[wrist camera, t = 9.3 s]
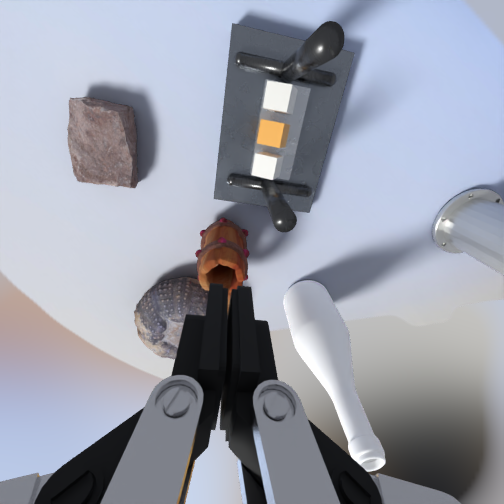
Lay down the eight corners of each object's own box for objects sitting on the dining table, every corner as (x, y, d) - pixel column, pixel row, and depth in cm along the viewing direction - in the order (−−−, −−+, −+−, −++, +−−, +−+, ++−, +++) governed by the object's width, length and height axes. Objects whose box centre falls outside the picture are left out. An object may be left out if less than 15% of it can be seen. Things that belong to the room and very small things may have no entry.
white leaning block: (283, 155, 36) (277, 158, 33) (279, 176, 38) (272, 180, 34) (263, 151, 37) (255, 153, 34) (259, 171, 38) (251, 175, 35)
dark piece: (347, 56, 36) (442, 8, 20) (305, 208, 46) (346, 259, 30) (232, 29, 34) (232, -51, 17) (214, 194, 44) (204, 242, 27)
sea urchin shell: (122, 282, 50) (110, 314, 41) (218, 257, 53) (225, 282, 44) (155, 351, 58) (150, 390, 50) (236, 326, 61) (245, 359, 52)
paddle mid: (290, 124, 35) (284, 123, 31) (285, 146, 36) (279, 148, 32) (268, 120, 35) (260, 118, 32) (265, 142, 37) (256, 143, 33)
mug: (200, 211, 45) (187, 252, 32) (247, 211, 46) (254, 251, 32) (205, 282, 52) (196, 339, 38) (246, 281, 52) (251, 337, 39)
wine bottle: (323, 313, 58) (400, 482, 31) (280, 314, 57) (323, 488, 31) (330, 277, 53) (427, 438, 27) (284, 278, 53) (337, 444, 26)
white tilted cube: (297, 90, 33) (292, 84, 29) (292, 114, 34) (286, 112, 31) (275, 86, 33) (267, 80, 30) (270, 110, 35) (262, 107, 31)
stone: (71, 94, 36) (50, 92, 32) (138, 103, 37) (127, 102, 33) (86, 180, 42) (70, 187, 37) (145, 185, 43) (136, 193, 38)
